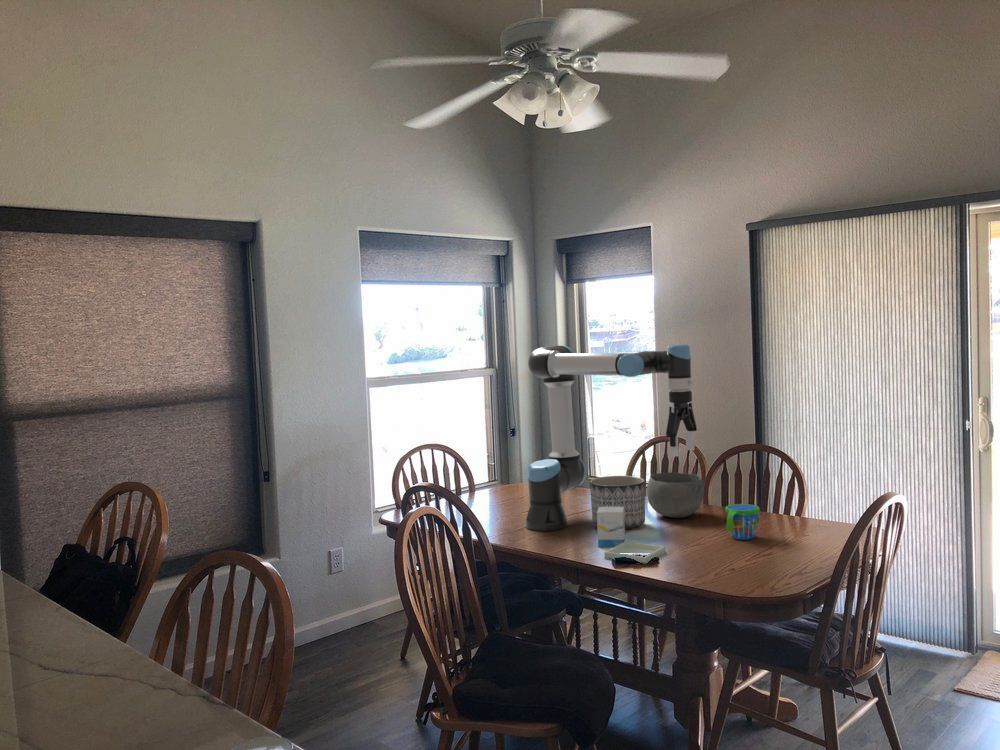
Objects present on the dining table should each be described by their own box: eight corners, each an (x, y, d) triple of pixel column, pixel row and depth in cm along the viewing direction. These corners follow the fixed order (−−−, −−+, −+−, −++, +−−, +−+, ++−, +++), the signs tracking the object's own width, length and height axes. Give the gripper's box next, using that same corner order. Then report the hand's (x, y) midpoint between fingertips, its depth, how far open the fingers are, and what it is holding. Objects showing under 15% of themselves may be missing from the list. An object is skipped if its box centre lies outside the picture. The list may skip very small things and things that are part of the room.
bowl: (642, 521, 298) (640, 480, 297) (654, 509, 317) (652, 470, 316) (700, 524, 290) (698, 481, 289) (708, 511, 309) (707, 471, 308)
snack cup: (746, 530, 278) (744, 500, 278) (772, 536, 269) (771, 505, 269) (714, 539, 269) (713, 508, 269) (740, 545, 261) (739, 513, 260)
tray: (604, 558, 253) (604, 552, 253) (625, 547, 265) (625, 541, 265) (646, 564, 245) (645, 557, 245) (665, 552, 256) (665, 546, 256)
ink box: (624, 547, 265) (622, 511, 264) (597, 547, 267) (596, 512, 266) (625, 540, 273) (624, 506, 273) (599, 540, 275) (598, 506, 274)
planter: (633, 535, 280) (631, 487, 279) (582, 530, 290) (580, 484, 289) (654, 522, 296) (652, 477, 295) (605, 518, 306) (603, 474, 305)
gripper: (675, 394, 265) (678, 459, 266) (704, 387, 286) (706, 448, 287) (654, 393, 270) (656, 458, 271) (684, 387, 290) (686, 447, 291)
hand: (682, 453), depth 279 cm, fingers open, 13 cm apart
